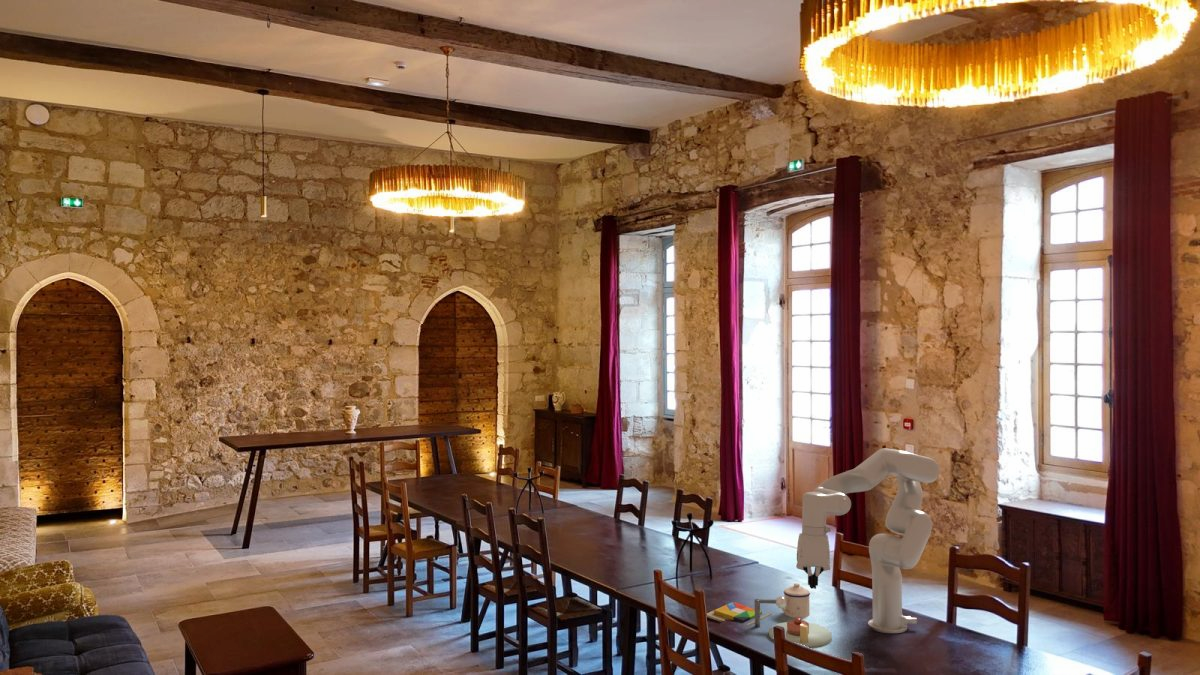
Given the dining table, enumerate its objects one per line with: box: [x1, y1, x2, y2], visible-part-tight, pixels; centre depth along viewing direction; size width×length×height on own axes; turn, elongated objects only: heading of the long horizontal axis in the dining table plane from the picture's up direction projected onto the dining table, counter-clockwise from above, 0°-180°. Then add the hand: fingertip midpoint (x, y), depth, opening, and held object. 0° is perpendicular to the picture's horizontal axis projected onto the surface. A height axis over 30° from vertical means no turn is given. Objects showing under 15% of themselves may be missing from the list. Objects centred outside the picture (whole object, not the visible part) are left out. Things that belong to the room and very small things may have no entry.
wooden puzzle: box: [706, 601, 772, 627], centre depth 305 cm, size 18×19×4 cm
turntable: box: [768, 621, 833, 648], centre depth 282 cm, size 20×20×6 cm
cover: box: [786, 617, 810, 636], centre depth 282 cm, size 7×7×5 cm
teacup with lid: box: [780, 582, 811, 619], centre depth 304 cm, size 12×9×12 cm
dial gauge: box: [753, 596, 787, 628], centre depth 292 cm, size 12×5×11 cm, turn 85°
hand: (812, 587), depth 279 cm, fingers closed
